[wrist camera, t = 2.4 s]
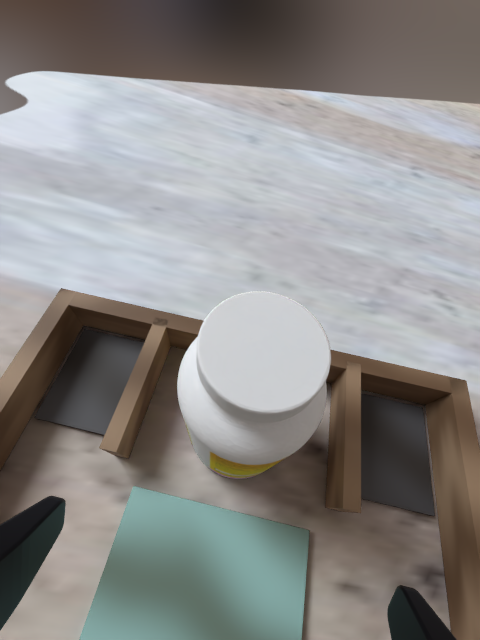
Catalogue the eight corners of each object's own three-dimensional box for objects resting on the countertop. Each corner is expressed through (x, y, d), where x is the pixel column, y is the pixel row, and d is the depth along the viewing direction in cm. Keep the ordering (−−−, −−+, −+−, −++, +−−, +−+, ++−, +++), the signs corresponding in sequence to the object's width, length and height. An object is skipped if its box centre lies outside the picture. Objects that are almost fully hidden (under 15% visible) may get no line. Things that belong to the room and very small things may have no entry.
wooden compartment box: (505, 865, 13) (579, 956, 10) (-146, 677, 14) (-226, 716, 11) (438, 393, 24) (466, 380, 21) (76, 310, 25) (61, 288, 22)
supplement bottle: (303, 434, 21) (401, 364, 10) (229, 504, 19) (256, 508, 8) (243, 364, 24) (271, 246, 13) (171, 417, 21) (128, 327, 10)
